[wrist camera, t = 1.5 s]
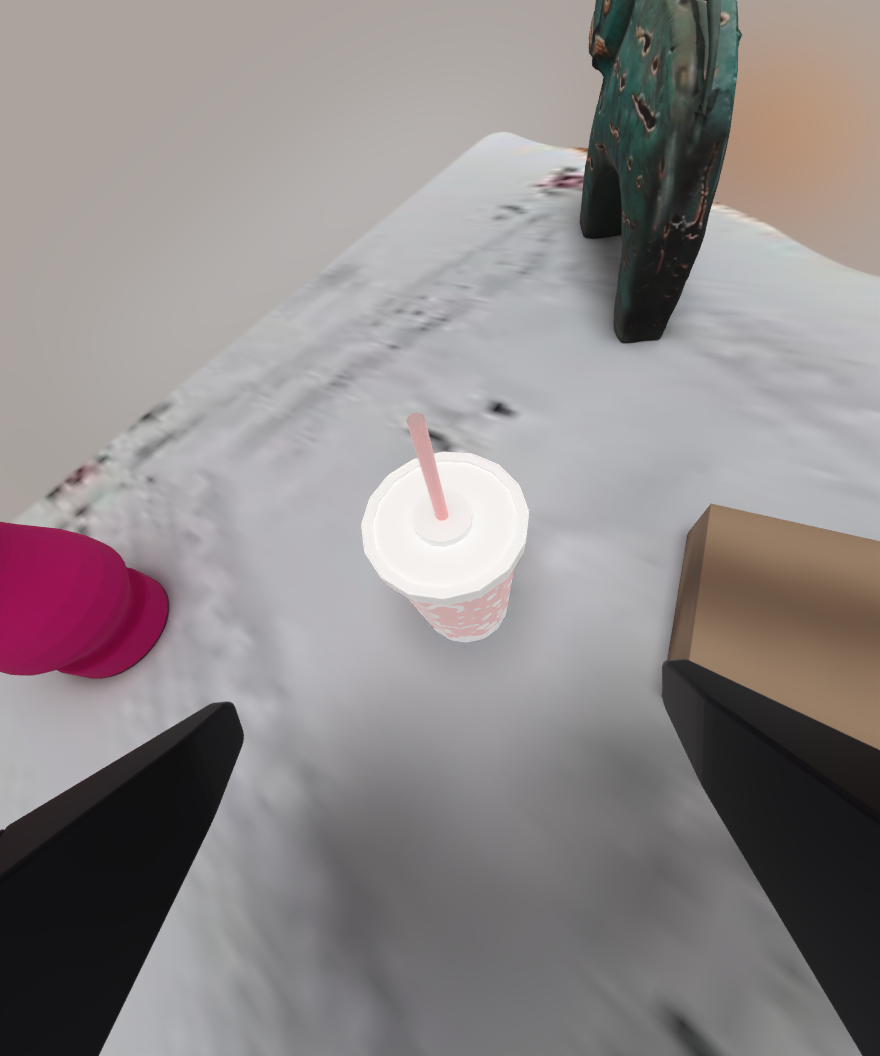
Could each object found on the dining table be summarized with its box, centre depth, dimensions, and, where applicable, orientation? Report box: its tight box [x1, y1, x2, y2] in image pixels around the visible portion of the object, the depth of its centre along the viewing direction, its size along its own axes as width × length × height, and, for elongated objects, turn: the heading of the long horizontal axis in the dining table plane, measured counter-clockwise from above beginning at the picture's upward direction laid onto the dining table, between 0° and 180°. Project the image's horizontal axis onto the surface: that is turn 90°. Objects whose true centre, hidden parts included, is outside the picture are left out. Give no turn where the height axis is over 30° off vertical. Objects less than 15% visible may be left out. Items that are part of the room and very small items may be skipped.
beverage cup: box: [361, 413, 529, 643], centre depth 17 cm, size 6×6×14 cm
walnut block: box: [662, 504, 880, 750], centre depth 18 cm, size 9×9×3 cm
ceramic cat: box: [580, 0, 742, 342], centre depth 26 cm, size 20×6×20 cm, turn 179°
